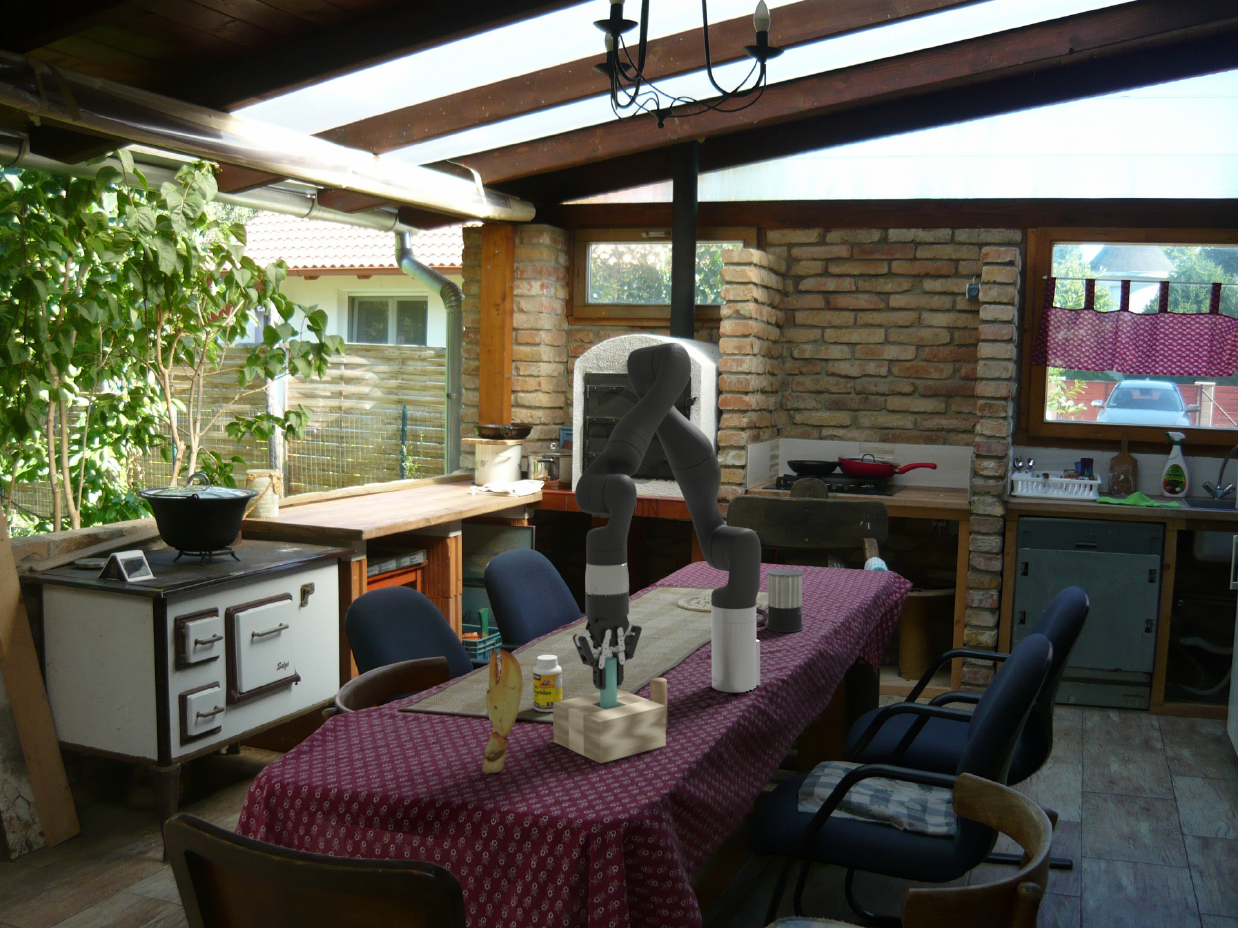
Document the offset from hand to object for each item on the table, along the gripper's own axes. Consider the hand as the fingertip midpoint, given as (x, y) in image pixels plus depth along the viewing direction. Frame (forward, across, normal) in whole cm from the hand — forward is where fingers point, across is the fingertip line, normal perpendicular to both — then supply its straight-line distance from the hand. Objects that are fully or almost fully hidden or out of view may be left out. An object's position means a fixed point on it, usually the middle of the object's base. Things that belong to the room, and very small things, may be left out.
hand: (608, 686), depth 187 cm
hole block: (+10, 0, 0) cm, 10 cm away
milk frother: (+10, -86, -47) cm, 99 cm away
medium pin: (+10, -12, -1) cm, 16 cm away
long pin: (+9, 0, 0) cm, 9 cm away
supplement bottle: (+10, -3, -24) cm, 26 cm away
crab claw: (+10, +22, 0) cm, 24 cm away
